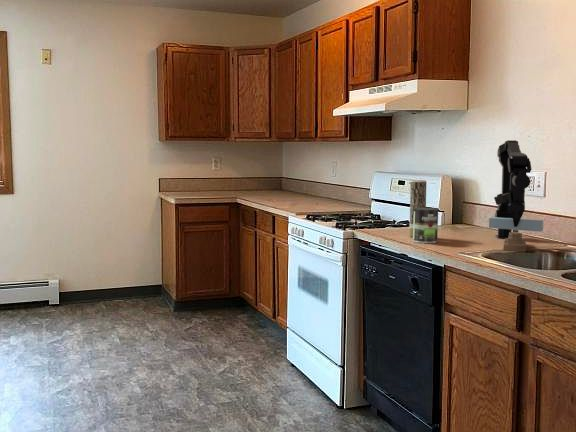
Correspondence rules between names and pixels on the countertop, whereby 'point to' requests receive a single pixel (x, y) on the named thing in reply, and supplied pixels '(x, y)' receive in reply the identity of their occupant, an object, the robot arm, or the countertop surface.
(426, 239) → the coffee can
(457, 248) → the countertop surface
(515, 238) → the ridge stand
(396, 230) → the countertop surface
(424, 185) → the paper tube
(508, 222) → the beam
